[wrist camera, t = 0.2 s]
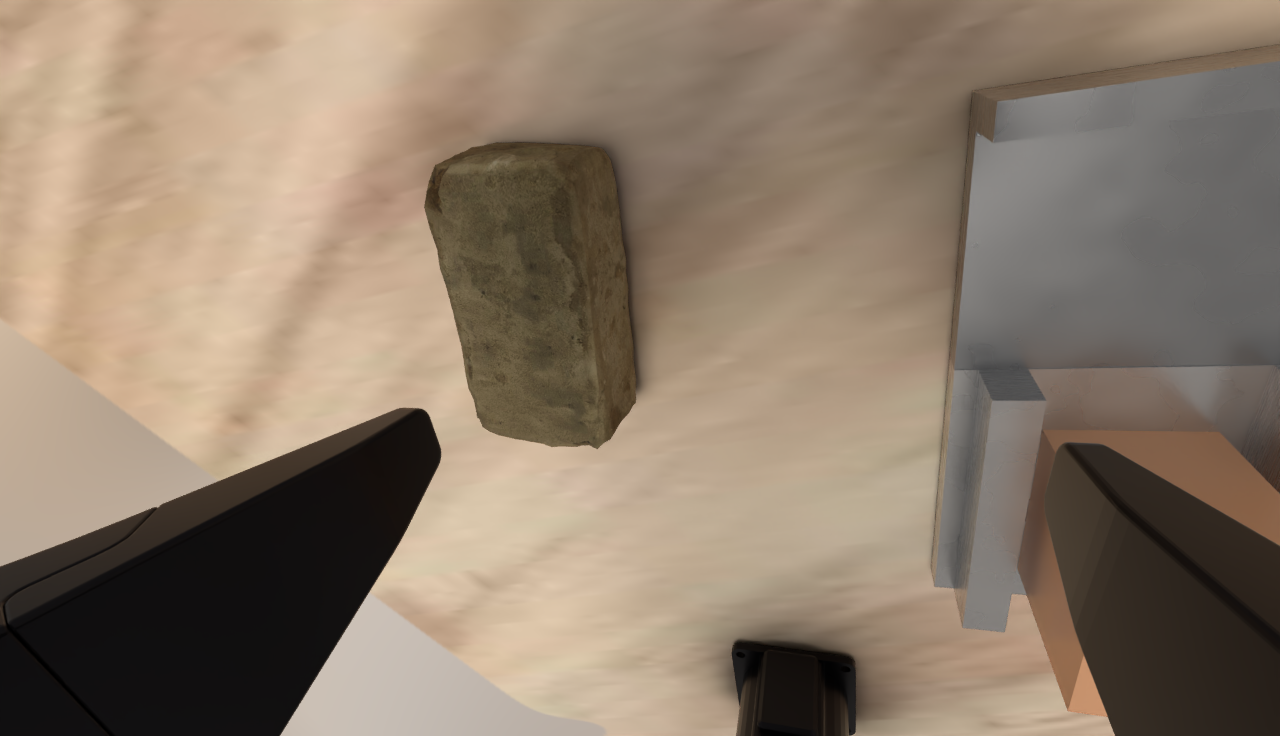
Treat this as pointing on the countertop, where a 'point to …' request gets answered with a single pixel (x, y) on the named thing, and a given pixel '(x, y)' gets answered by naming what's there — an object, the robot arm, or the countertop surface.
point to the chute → (1107, 287)
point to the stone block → (537, 288)
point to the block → (1176, 457)
